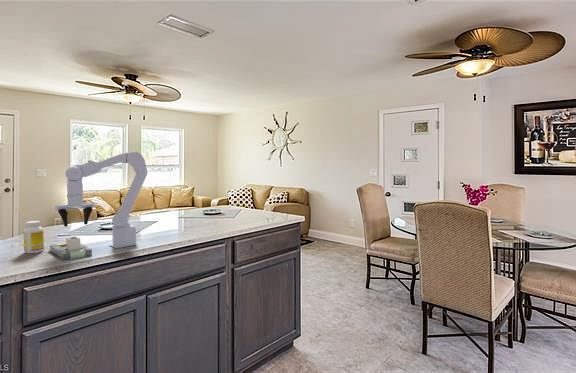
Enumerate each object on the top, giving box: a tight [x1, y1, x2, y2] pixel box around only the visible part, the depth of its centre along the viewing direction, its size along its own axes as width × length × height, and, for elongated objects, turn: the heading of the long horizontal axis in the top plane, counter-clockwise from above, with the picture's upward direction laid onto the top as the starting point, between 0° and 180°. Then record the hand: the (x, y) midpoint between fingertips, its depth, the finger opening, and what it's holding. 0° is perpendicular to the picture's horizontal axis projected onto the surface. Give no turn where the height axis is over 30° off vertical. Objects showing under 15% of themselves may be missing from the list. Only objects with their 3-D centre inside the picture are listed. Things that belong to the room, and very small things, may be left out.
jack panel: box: [49, 242, 93, 261], centre depth 139 cm, size 10×20×2 cm, turn 48°
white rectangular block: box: [65, 236, 81, 251], centre depth 136 cm, size 4×4×8 cm
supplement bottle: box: [22, 220, 45, 254], centre depth 140 cm, size 7×7×13 cm
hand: (75, 225), depth 146 cm, fingers open, 7 cm apart
